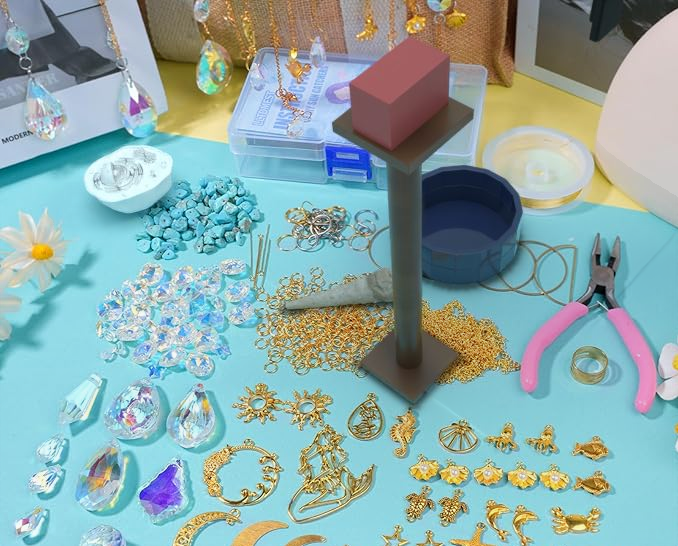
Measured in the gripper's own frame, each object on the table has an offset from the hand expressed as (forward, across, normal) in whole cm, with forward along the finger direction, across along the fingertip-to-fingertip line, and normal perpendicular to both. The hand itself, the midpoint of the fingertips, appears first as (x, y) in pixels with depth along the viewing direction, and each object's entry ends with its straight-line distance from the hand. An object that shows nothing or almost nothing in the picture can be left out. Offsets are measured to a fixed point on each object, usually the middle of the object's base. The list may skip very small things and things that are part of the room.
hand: (658, 55), depth 63 cm
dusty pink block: (+2, +13, +15) cm, 20 cm away
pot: (+38, +20, -3) cm, 43 cm away
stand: (+38, +13, +15) cm, 43 cm away
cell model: (+38, +59, +18) cm, 73 cm away
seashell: (+38, +24, +13) cm, 47 cm away
